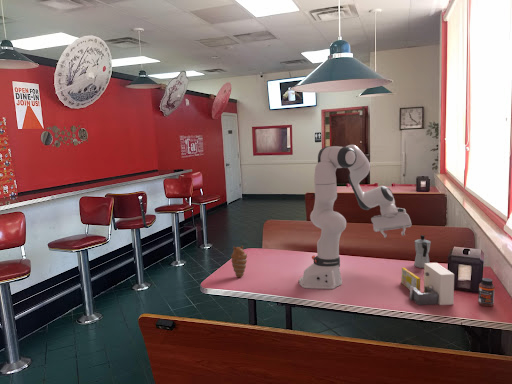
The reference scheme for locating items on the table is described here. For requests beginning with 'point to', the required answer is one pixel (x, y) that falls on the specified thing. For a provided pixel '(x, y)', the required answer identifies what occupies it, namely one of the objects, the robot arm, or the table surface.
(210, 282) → the table surface
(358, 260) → the table surface
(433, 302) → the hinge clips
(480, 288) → the supplement bottle
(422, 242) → the coffee maker
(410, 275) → the candy box
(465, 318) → the table surface
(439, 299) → the cabinet
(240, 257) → the brown ridged elongated piece
